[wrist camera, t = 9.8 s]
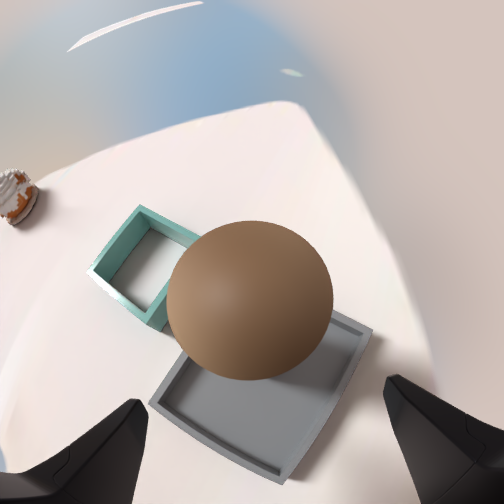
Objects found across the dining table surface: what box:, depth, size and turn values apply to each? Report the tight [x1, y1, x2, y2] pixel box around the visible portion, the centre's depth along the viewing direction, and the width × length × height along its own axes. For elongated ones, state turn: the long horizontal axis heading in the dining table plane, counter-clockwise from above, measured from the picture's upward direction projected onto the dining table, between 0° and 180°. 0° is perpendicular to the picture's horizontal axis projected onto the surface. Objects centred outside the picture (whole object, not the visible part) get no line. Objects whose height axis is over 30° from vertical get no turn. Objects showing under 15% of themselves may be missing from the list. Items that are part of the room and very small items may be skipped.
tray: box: [148, 310, 373, 485], centre depth 19 cm, size 14×12×2 cm
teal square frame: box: [86, 205, 201, 332], centre depth 24 cm, size 9×9×3 cm
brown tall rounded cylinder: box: [167, 221, 333, 381], centre depth 14 cm, size 4×4×15 cm
